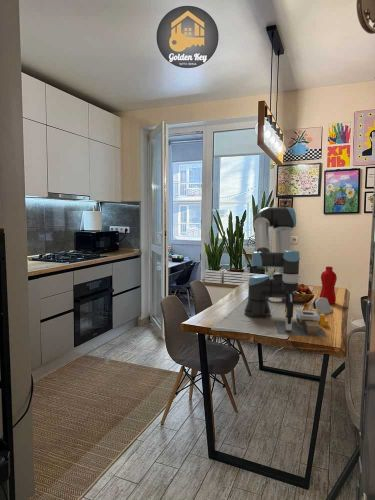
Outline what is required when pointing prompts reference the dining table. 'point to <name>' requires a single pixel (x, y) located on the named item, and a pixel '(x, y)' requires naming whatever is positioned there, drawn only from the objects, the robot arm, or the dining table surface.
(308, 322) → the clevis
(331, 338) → the dining table surface
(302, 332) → the mat
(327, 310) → the grey rounded block
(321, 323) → the pipe clamp
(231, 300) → the dining table surface
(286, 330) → the brass pin
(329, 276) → the water bottle
